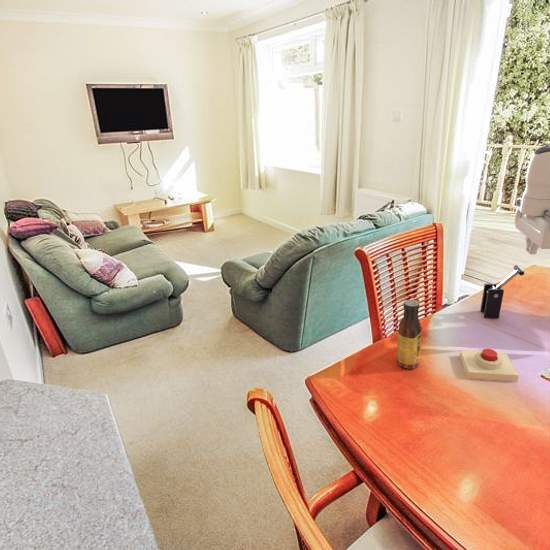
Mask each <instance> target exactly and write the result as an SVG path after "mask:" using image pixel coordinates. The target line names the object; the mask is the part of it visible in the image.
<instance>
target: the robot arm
mask: <svg viewBox="0 0 550 550" xmlns="http://www.w3.org/2000/svg"><path fill="white" fill-rule="evenodd" d="M525 184H526V185H525V190H524V191H523V194H522V197H519V198H516V200H515V207H516V210H515V218H514V225H515V229H517V230H518V231H519V232H520V233H521V234H523V235H524V236H525V244H526V246H525V251H526V252H527V253H528V254H529V255H537V252H538V249H539V248H540V249H541V250H550V144H546V145H543V146H540V147H538V148H537V149H535V150H534V152H533V153H532V155H531V157H530V159H529V163H528V167H527V170H526V176H525Z"/></svg>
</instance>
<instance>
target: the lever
mask: <svg viewBox="0 0 550 550" xmlns="http://www.w3.org/2000/svg"><path fill="white" fill-rule="evenodd" d="M518 275H519V276H524V275H525V271H524V270H523V269H522V268H521V267H520V266H519V265H518V264H516V265H515V264H514V265H513V272H511V273H510V274H509V275H508V276H507V277H505V278H504V279H503V280H502V281H501V282H499V283H497V284H498V285H497V286H496V287H495V286H492V287H490V288H489V289H503V287H505V286H506V285H507V284H508V283H509V282H510V281H511V280H513V279H514V278H515V277H516V276H518ZM487 293H488V290H487Z"/></svg>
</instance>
